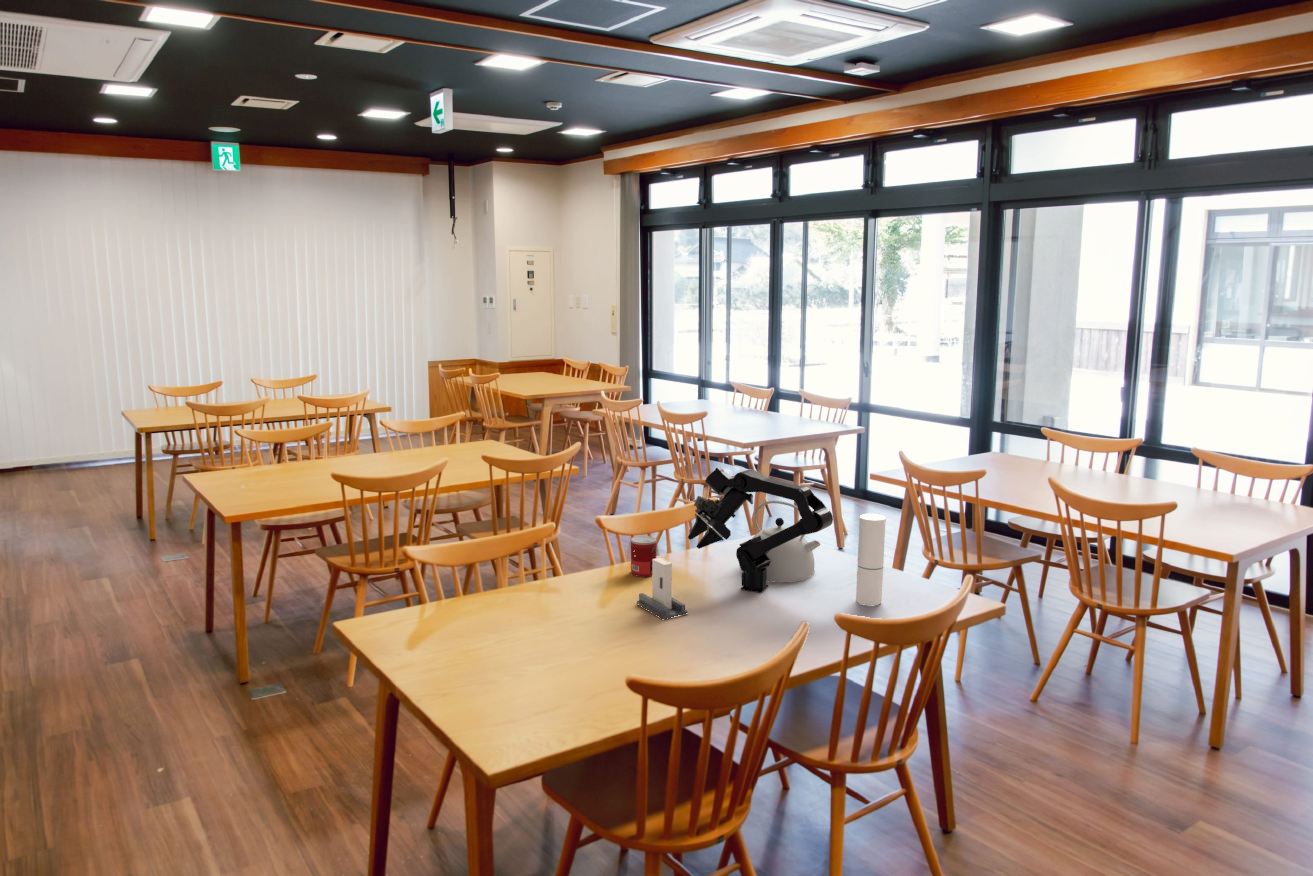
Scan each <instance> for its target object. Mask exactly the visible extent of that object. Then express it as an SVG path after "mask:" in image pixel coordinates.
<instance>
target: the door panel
mask: <svg viewBox="0 0 1313 876" xmlns="http://www.w3.org/2000/svg"><path fill="white" fill-rule="evenodd" d="M672 568H673V567H672V562H669V561H668V560H666V559H665V558H662V557H658V558H657V557H656V559H652V576H651V577H652V579H651V580H652V582H651V583H652V596H651V598H652V599H654V600H656V601H657V602H659V603H661V604H663V605H664V606H666V607H668V608H669V609H671V608H672V598H673V595H672V594H673V593H672V589H673V588H672V583H673V582H672V581H673V580H672V577H673V576H672V575H673V574H672V572H673V569H672Z"/></svg>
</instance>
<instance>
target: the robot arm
mask: <svg viewBox="0 0 1313 876" xmlns="http://www.w3.org/2000/svg"><path fill="white" fill-rule="evenodd" d="M704 482H705V483H704V484H705V485H707V486H708V487H709V488H710V489H711V490H712V491H713V492H714V493H716V494H717V495H718V496H721V495H723V497H722V498H721V499H715V500H713V499H711V498H705V497H703V496H700V495H698V496H697V497H696V500H695V502H694V504H693V506H694V507H696V509H695V510H694V512H695V513H694V517H695V522H694V524H693V526H692V528H691V530H690V532H689V534H688V535H687V539H688V540H689V541H691V540H693V539H695V538H697V537H698V536H700V535H701V534H703V533H704V532H705V533H704V535H703V536H702V537H701V539H700V540H699V542H698V543H697V544H696V548H697V549H699V550H700V549H702V548H706V547H707V546H710V545H711V544H714V543H718V542H720V541H724V540H726V541H727V540H728V539H729V538H730V537H731V535H732V534H731V533H732V531H731V530H730V528H728V527H727V525H726V524H727V522H728V521H729V520H730V519H731V518H732V519H733V518H734V519H735V517H736V514H735V513H736V512H737V511H738V510H739V509H740V508H741V507H742V506H743V505H744V503H745V502H746V501H747V502H748V503H749V504H750V505H753V504H754V494H753V493H762V494H763V493H764V494H768V495H772V496H775V497H779V498H783V499H787V500H792V501H794V502H795V504H796V506H797V507H798V510H799V511H798V510H797V511H798V513H799V515H800V517H801V518H800V519H799V520H798V521H797V522H796V523H793V524H792V525H790V526H789V527H788V528H786V529H784V530H782V531H780V532H778V533H776V534H774V535H772V536H770V537H768V538H766V539H761V536H760V535H759V536H757V537H754V536H753V537H754V538H753V537H752V538H750V539H748V540H746V541H744V542H742V543H740V544H739V547H737V548H736V553H735V554H736V559H737V561H738V564H739V567H740V571H742V572H741V587H740V590H742V591H747V592H754V593H763V592H764V591H765V590H766V589H767V588H768V587H769V584H767V581H766V578H767V568H766V567H768V566H769V565H770V562H771V560H770V559H769V557H768V556H767V553H768V552H769V551H770V550H771V549H773V548H775V547H778V546H780V545H782V544H784V543H786V542H788V541H790V540H792V539H794V538H796V537H799V536H801V535H805V536H806V535H810V534H815V533H818V532H820V531H822V530H824V529H827V528H828V527H830V526H831V525H832V524H833V522H834V516H833V513H832V512H831V510H830V509H828V508H827V506H826V505H825V503H824V502H823V501H822V500H821V499H819V497H818V496H816V495H815V494H814V492H813V491H812V489H810V487H808V486H806V485H803V486H801V485H798V484H793V483H790V482H785V481H782V480H778V479H773V478H769V477H767V476H765V475H764V474H763V473H761V472H759V471H757V470H755V469H750V468H749V469H747V470H742V471H740V472H737V473H736V474H734V476H731V475H729V474H728V473H727V472H726V471H725V470H724V468H722V467H721V466H717V467H716V468H715V469H714V470H713V471H712V472H711V473H710V474H708V476H707V477H706V478H705V479H704Z"/></svg>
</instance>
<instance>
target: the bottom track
mask: <svg viewBox="0 0 1313 876" xmlns="http://www.w3.org/2000/svg"><path fill="white" fill-rule="evenodd" d="M637 604H639V605H640V606H642V607H643V608H645V609H647V610H649V611H650V612H652V613H653V614H655V615H657V616H659V617H660V618H661V619H660V618H659V619H660V620H662V619H667V618H671V617H674V616H678V615H683V614H686V613H689V611H688V610H687V609H686V604H685V603H683V602H681V601H679V600H678V599H675V598H674V597H672V608H671V609H669V608H668V607H666V606H664V605H663V604H661V603H659V602H657V601H656V600H654V599H652V597H651V596H648V595H647V594H645V593H644V592H643V593H642V592H641V593H638V600H636V605H637ZM640 606H639V607H640ZM642 607H641V608H642ZM643 608H642V609H643ZM645 609H644V610H645ZM647 610H646V611H647ZM650 612H649V613H650ZM652 613H651V614H652ZM653 614H652V615H653ZM655 615H654V616H655ZM657 616H656V617H657ZM671 619H672V618H671ZM667 620H668V619H667Z"/></svg>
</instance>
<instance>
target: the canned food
mask: <svg viewBox="0 0 1313 876" xmlns="http://www.w3.org/2000/svg"><path fill="white" fill-rule="evenodd" d="M634 550H635V552H633V551H634ZM634 555H636V557H634ZM656 558H657V538H655V537H653V536H650V535H636V536H634V537H631V538H630V572H631V574H632V575H633V574H634V575H633V576H635V575H637V576H636V577H640V576H647V577H652V559H656Z"/></svg>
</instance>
